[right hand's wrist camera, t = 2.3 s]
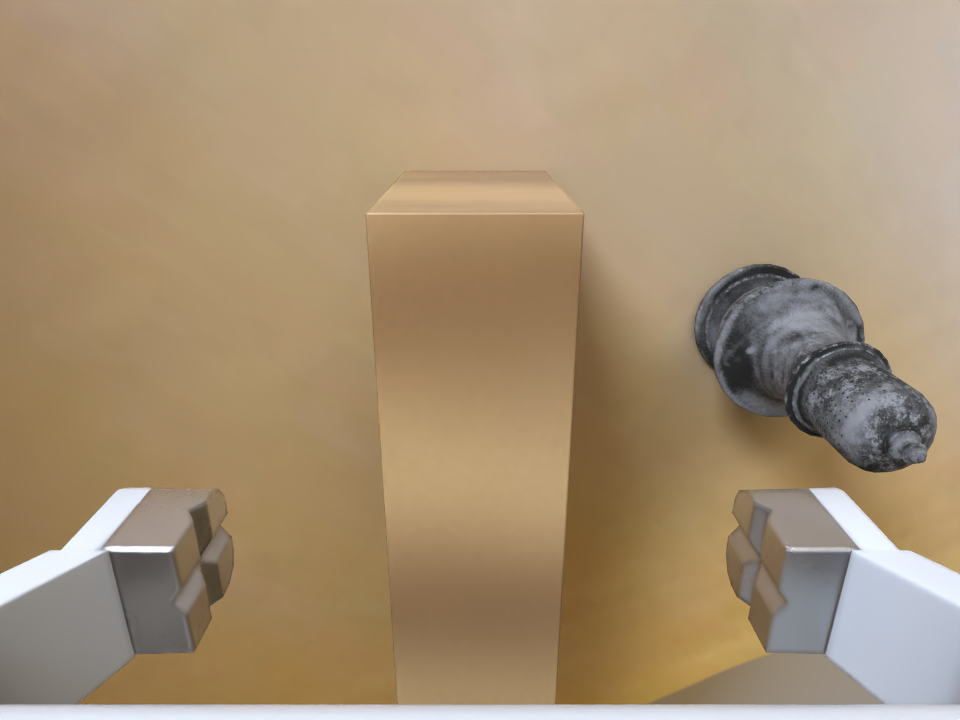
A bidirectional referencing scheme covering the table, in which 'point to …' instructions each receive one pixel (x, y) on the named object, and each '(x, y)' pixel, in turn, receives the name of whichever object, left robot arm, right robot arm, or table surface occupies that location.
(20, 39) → the table surface
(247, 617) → the table surface
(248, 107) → the table surface
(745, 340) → the grey chess piece
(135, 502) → the right robot arm
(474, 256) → the box
